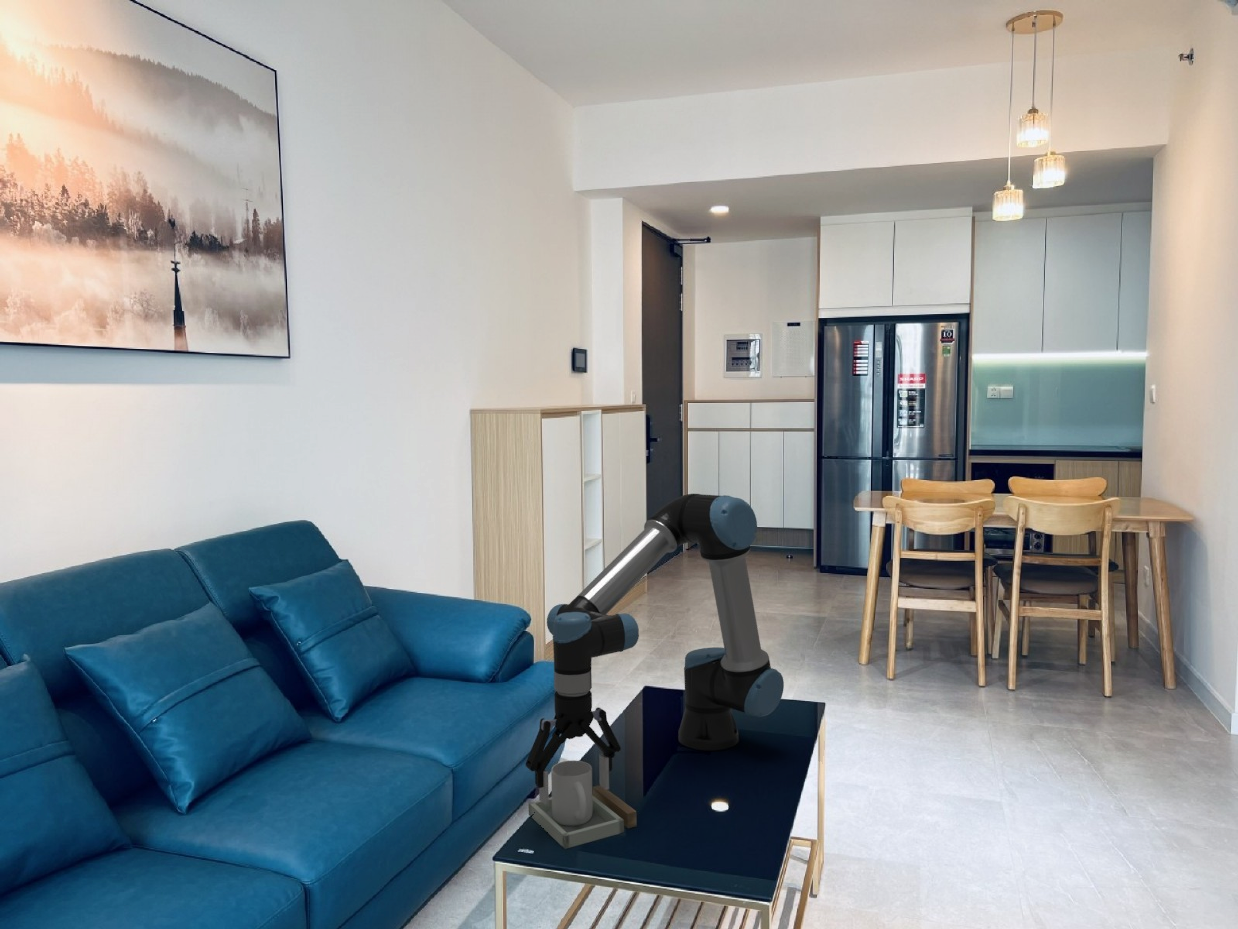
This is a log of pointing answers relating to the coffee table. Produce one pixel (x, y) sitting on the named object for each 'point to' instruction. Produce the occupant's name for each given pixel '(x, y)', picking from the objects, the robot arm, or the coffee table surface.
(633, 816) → the edge rail
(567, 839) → the frame
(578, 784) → the mug
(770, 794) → the coffee table surface
